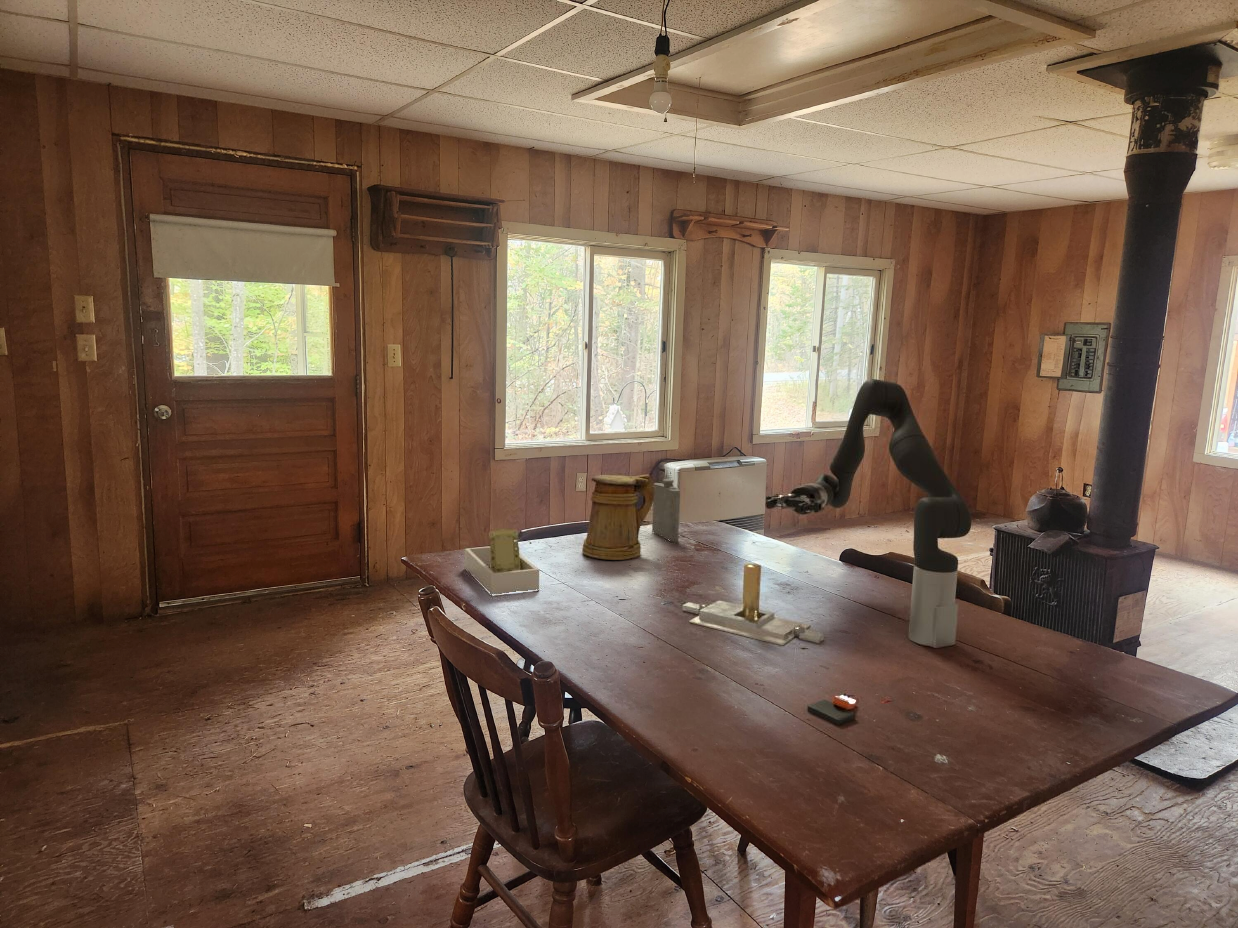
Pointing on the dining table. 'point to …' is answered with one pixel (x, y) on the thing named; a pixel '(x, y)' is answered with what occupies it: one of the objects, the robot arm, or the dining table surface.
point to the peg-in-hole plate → (750, 623)
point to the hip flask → (666, 510)
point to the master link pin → (751, 591)
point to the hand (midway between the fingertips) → (783, 506)
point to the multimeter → (835, 709)
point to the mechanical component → (504, 550)
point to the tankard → (617, 516)
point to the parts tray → (500, 573)
